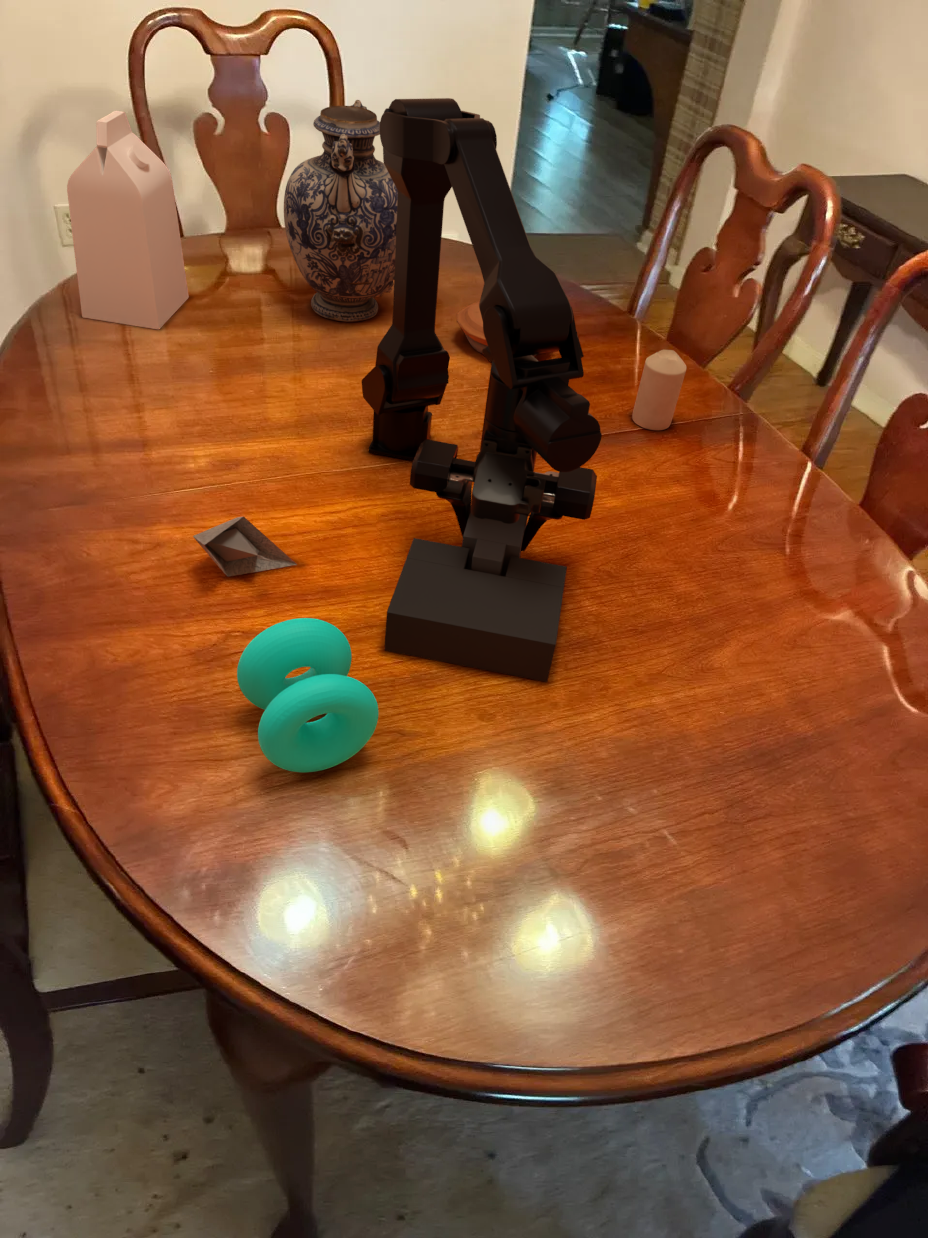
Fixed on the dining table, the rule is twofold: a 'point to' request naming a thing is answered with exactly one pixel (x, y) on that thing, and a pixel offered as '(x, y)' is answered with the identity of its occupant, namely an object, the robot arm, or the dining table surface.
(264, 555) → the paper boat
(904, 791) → the dining table surface
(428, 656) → the notch pad
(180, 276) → the milk
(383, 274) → the decorative vase
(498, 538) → the tongue pad
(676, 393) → the candle
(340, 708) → the donuts
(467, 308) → the pie
